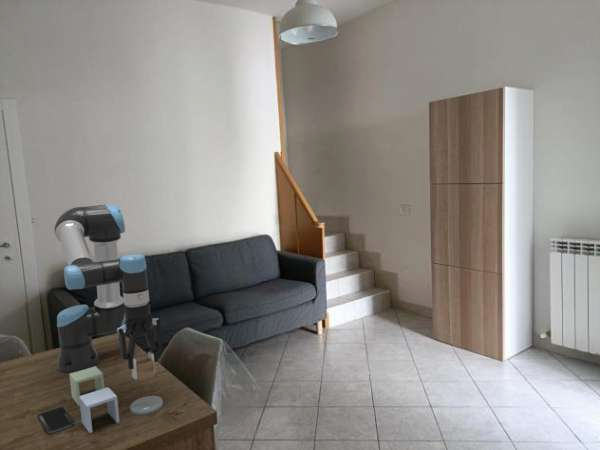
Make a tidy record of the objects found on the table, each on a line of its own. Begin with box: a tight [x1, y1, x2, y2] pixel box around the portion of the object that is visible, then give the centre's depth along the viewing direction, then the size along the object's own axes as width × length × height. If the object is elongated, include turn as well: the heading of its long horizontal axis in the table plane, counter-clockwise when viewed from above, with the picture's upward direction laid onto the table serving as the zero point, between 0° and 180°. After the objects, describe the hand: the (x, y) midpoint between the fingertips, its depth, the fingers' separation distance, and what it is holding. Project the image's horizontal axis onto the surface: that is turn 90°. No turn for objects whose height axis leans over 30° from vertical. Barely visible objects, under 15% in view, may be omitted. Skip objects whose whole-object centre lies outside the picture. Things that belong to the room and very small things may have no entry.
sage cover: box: [69, 365, 105, 407], centre depth 158 cm, size 9×9×8 cm
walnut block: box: [136, 356, 156, 382], centre depth 148 cm, size 5×5×5 cm
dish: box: [129, 395, 164, 416], centre depth 149 cm, size 10×10×1 cm
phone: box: [37, 406, 76, 436], centre depth 143 cm, size 8×1×15 cm
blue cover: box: [79, 386, 121, 434], centre depth 141 cm, size 9×9×8 cm
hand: (143, 375), depth 148 cm, fingers closed on walnut block, 5 cm apart
